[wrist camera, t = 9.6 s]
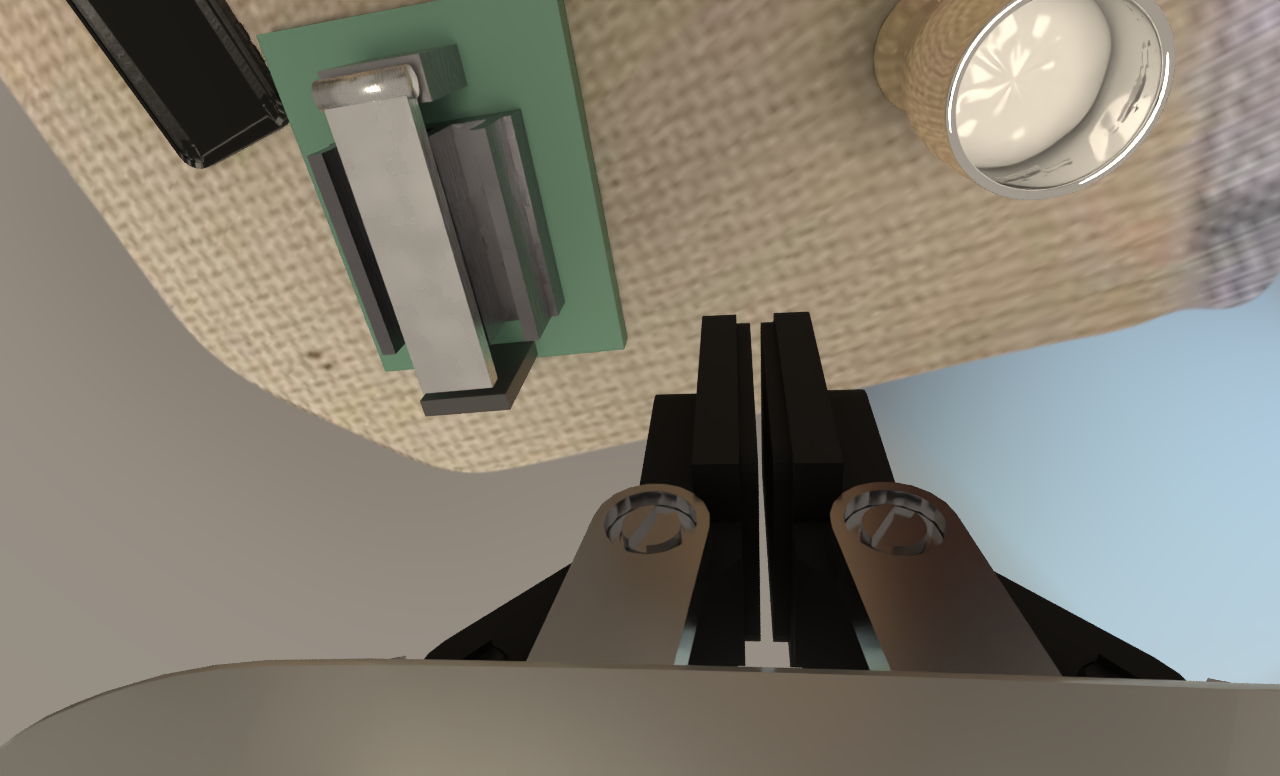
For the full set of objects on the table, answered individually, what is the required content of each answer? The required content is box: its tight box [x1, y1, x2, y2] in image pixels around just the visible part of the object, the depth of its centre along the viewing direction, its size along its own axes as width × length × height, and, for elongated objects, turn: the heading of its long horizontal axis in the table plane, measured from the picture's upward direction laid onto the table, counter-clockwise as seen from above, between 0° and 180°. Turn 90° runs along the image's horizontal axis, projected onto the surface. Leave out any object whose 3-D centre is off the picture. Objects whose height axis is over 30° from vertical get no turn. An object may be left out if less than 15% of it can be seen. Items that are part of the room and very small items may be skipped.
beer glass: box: [874, 0, 1175, 200], centre depth 28 cm, size 7×7×15 cm
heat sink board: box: [256, 0, 627, 416], centre depth 38 cm, size 20×16×8 cm
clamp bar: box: [311, 64, 498, 394], centre depth 35 cm, size 16×4×1 cm, turn 9°
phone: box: [66, 0, 289, 169], centre depth 38 cm, size 8×1×15 cm
